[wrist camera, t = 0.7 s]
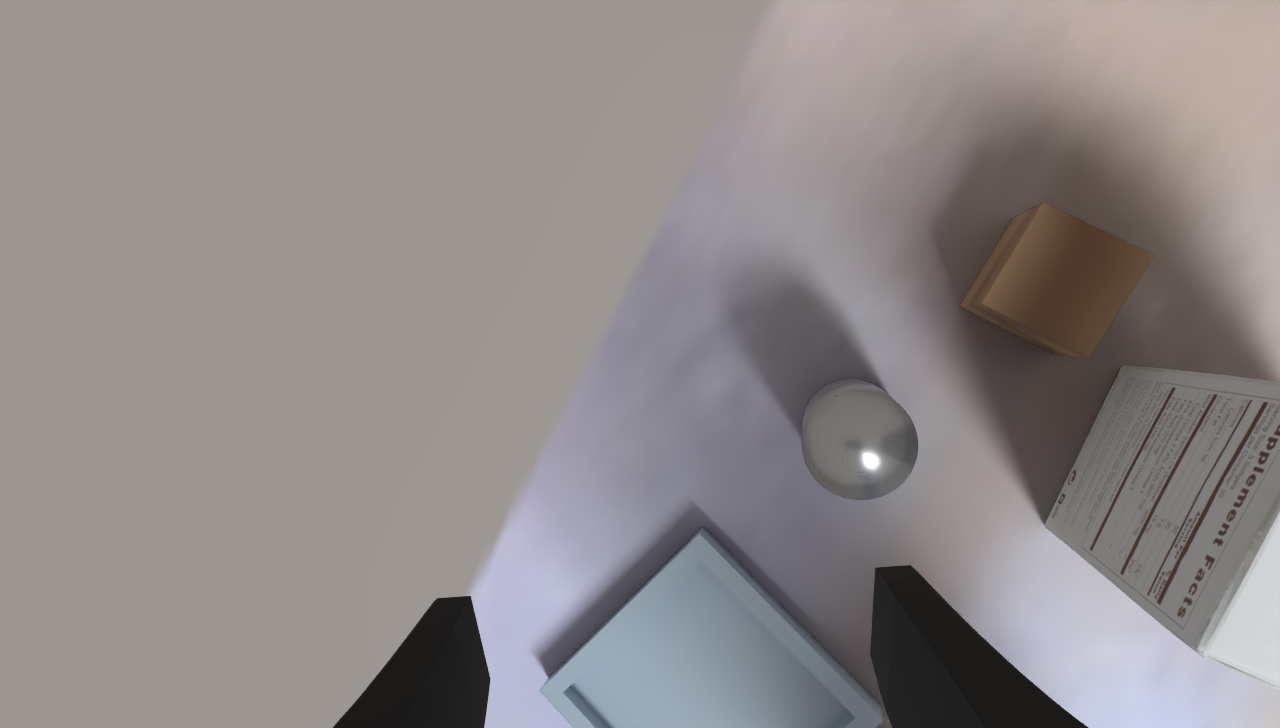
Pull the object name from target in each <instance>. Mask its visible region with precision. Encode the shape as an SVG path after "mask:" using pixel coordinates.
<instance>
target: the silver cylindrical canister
mask: <svg viewBox="0 0 1280 728" xmlns="http://www.w3.org/2000/svg"><path fill="white" fill-rule="evenodd" d="M802 451H803V456H804V460H805V462H806V465H807V467H808V469H809V471H810V472H811V474H812V475H813V477H814V478H815V479H816V480H817V481H818V482H819V483H820V484H821V485H822V486H823V487H824V488H826V489H827V490H829V491H830V492H832V493H834V494H836V495H838V496H841V497H844V498H849V499H855V500H868V499H874V498H878V497H881V496H883V495H886V494H888V493H890V492H891V491H893V490H895V489H896V488H897V487H899V486H900V485H901V484H902V483H903V482H904V481H905V480H906V478H907V477H908V476H909V474H910V473H911V471H912V469H913V467H914V464H915V461H916V458H917V453H918V438H917V433H916V430H915V427H914V424H913V422H912V420H911V418H910V417H909V415H908V414H907V412H906V411H905V410H904V409H903V408H902V407H901V406H900V405H899V404H898V403H897V402H896V401H895V400H893V399H892V398H891V397H890V396H889V395H888V394H886V393H885V392H884V391H883V390H882V389H880V388H879V387H877V386H876V385H874V384H872V383H870V382H867V381H863V380H858V379H843V380H838V381H835V382H832V383H830V384H828V385H826V386H824V387H823V388H821V389H820V390H819V391H817V392H816V393H815V394H814V396H813V397H812V398H811V399H810V401H809V402H808V404H807V406H806V409H805V412H804V415H803V423H802Z"/></svg>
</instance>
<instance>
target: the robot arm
mask: <svg viewBox="0 0 1280 728" xmlns="http://www.w3.org/2000/svg"><path fill="white" fill-rule="evenodd" d="M870 655H871V659H872V662H873V666H874V670H875V673H876V677H877V681H878V685H879V688H880V692H881V695H882V698H883V702H884V705H885V709H886V712H887V715H888V717H889V720H890V722H891V725H892V727H893V728H1088V727H1087V726H1085V725H1084V724H1083V723H1081V722H1080V721H1079V720H1077V719H1076V718H1075V717H1073V716H1072V715H1071V714H1070V713H1068V712H1067V711H1066V710H1064V709H1063V708H1062V707H1061V706H1060V705H1058V704H1057V703H1056V702H1055V701H1053V700H1052V699H1051V698H1050V697H1049V696H1047V695H1046V694H1045V693H1044V692H1043V691H1042V690H1040V689H1039V688H1038V687H1037V686H1036V685H1034V684H1033V683H1032V682H1031V681H1030V680H1029V679H1027V678H1026V677H1025V676H1024V675H1023V674H1022V673H1021V672H1019V671H1018V670H1017V669H1016V668H1015V667H1014V666H1013V665H1012V664H1011V663H1009V662H1008V661H1007V660H1006V659H1005V658H1004V657H1003V656H1002V655H1001V654H1000V653H999V652H998V651H997V650H995V649H994V648H993V647H992V646H991V645H990V644H989V643H988V642H987V641H986V640H985V639H984V638H983V637H982V636H980V635H979V634H978V633H977V632H976V631H975V630H974V629H973V628H972V627H971V626H970V625H969V624H968V623H967V622H966V621H965V620H964V619H963V618H962V617H961V616H960V615H959V614H958V613H957V612H956V611H955V610H954V609H953V608H952V607H951V606H950V605H949V604H948V603H947V602H946V601H945V600H944V599H943V598H942V597H941V596H940V595H939V594H938V593H937V591H936V590H935V589H934V588H933V587H932V586H931V585H930V584H929V583H928V582H927V581H926V580H925V579H924V578H923V577H922V576H921V575H920V574H919V573H918V572H917V571H916V570H915V569H914V568H913V567H912V566H911V565H908V566H894V567H879V568H875V582H874V600H873V617H872V635H871V652H870ZM489 686H490V676H489V672H488V667H487V663H486V659H485V655H484V651H483V646H482V642H481V638H480V634H479V630H478V625H477V621H476V617H475V613H474V608H473V604H472V600H471V596H464V597H451V598H438V599H436V600H435V601H434V602H433V604H432V605H431V606H430V607H429V609H428V610H427V611H426V613H425V614H424V615H423V617H422V618H421V619H420V621H419V622H418V623H417V625H416V626H415V627H414V628H413V630H412V631H411V633H410V634H409V635H408V636H407V638H406V639H405V640H404V642H403V643H402V644H401V646H400V647H399V648H398V650H397V651H396V652H395V654H394V655H393V656H392V657H391V659H390V660H389V661H388V662H387V664H386V665H385V666H384V667H383V669H382V670H381V671H380V672H379V674H378V675H377V676H376V677H375V679H374V680H373V681H372V682H371V684H370V685H369V686H368V687H367V689H366V690H365V691H364V692H363V693H362V695H361V696H360V697H359V698H358V699H357V701H356V702H355V703H354V704H353V705H352V706H351V707H350V709H349V710H348V711H347V712H346V713H345V714H344V715H343V717H342V718H341V719H340V720H339V721H338V722H337V724H335V726H334V727H333V728H484V724H485V717H486V710H487V702H488V694H489Z"/></svg>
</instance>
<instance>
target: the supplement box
mask: <svg viewBox="0 0 1280 728" xmlns="http://www.w3.org/2000/svg"><path fill="white" fill-rule="evenodd" d="M1045 527H1046V528H1047V529H1048V530H1049V531H1051V532H1052V533H1053V534H1054V535H1055V536H1056V537H1058V538H1059V539H1060V540H1061V541H1063V542H1064V543H1065V544H1067V545H1068V546H1069V547H1070V548H1072V549H1073V550H1074V551H1075V552H1076V553H1077V554H1079V555H1080V556H1081V557H1082V558H1083V559H1084V560H1086V561H1087V562H1088V563H1089V564H1090V565H1092V566H1093V567H1094V568H1095V569H1096V570H1098V571H1099V572H1100V573H1101V574H1102V575H1104V576H1105V577H1106V578H1107V579H1108V580H1109V581H1111V582H1112V583H1113V584H1114V585H1115V586H1117V587H1118V588H1119V589H1120V590H1121V591H1122V592H1124V593H1125V594H1126V595H1127V596H1128V597H1129V598H1131V599H1132V600H1133V601H1134V602H1135V603H1137V604H1138V605H1139V606H1140V607H1141V608H1142V609H1144V610H1145V611H1146V612H1147V613H1148V614H1150V615H1151V616H1152V617H1153V618H1154V619H1155V620H1157V621H1158V622H1159V623H1160V624H1161V625H1163V626H1164V627H1165V628H1166V629H1168V630H1169V631H1170V632H1171V633H1172V634H1174V635H1175V636H1176V637H1177V638H1179V639H1180V640H1181V641H1183V642H1184V643H1185V644H1187V645H1188V646H1189V647H1190V648H1192V649H1193V650H1194V651H1196V652H1197V653H1198V654H1200V655H1201V656H1203V657H1205V658H1207V659H1209V660H1211V661H1213V662H1216V663H1218V664H1220V665H1223V666H1225V667H1227V668H1229V669H1232V670H1234V671H1236V672H1238V673H1241V674H1243V675H1245V676H1248V677H1250V678H1252V679H1255V680H1257V681H1259V682H1262V683H1264V684H1266V685H1268V686H1271V687H1273V688H1275V689H1278V690H1280V382H1279V381H1268V380H1261V379H1253V378H1245V377H1237V376H1229V375H1220V374H1210V373H1201V372H1191V371H1182V370H1172V369H1162V368H1152V367H1139V366H1131V365H1123V366H1122V367H1121V369H1120V371H1119V373H1118V376H1117V377H1116V379H1115V381H1114V383H1113V385H1112V387H1111V389H1110V391H1109V393H1108V395H1107V397H1106V399H1105V401H1104V403H1103V406H1102V408H1101V410H1100V411H1099V413H1098V415H1097V418H1096V420H1095V422H1094V424H1093V426H1092V428H1091V430H1090V432H1089V434H1088V436H1087V438H1086V440H1085V442H1084V444H1083V446H1082V448H1081V450H1080V452H1079V454H1078V456H1077V458H1076V460H1075V463H1074V465H1073V467H1072V469H1071V471H1070V472H1069V475H1068V477H1067V479H1066V481H1065V483H1064V485H1063V487H1062V489H1061V491H1060V493H1059V495H1058V498H1057V500H1056V502H1055V504H1054V506H1053V508H1052V510H1051V512H1050V514H1049V516H1048V518H1047V520H1046V523H1045Z"/></svg>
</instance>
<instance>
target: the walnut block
mask: <svg viewBox="0 0 1280 728" xmlns="http://www.w3.org/2000/svg"><path fill="white" fill-rule="evenodd" d="M1153 257H1154V255H1153V254H1151V253H1149V252H1147V251H1145V250H1142V249H1140V248H1138V247H1136V246H1134V245H1132V244H1130V243H1128V242H1126V241H1124V240H1122V239H1119V238H1117V237H1115V236H1113V235H1111V234H1109V233H1107V232H1105V231H1103V230H1101V229H1098V228H1096V227H1094V226H1092V225H1090V224H1088V223H1086V222H1084V221H1082V220H1080V219H1077V218H1075V217H1073V216H1071V215H1069V214H1067V213H1065V212H1063V211H1061V210H1059V209H1057V208H1054V207H1052V206H1050V205H1048V204H1046V203H1044V202H1043V203H1041V204H1039V205H1037V206H1035V207H1033V208H1031V209H1029V210H1027V211H1025V212H1023V213H1022V214H1020V215H1018V216H1016V217H1014V218H1012V220H1011V222H1010V223H1009V225H1008V227H1007V228H1006V230H1005V232H1004V233H1003V235H1002V237H1001V238H1000V240H999V242H998V243H997V245H996V247H995V248H994V250H993V252H992V253H991V255H990V257H989V258H988V260H987V262H986V263H985V265H984V267H983V268H982V270H981V272H980V273H979V275H978V277H977V278H976V280H975V282H974V283H973V285H972V287H971V288H970V290H969V292H968V293H967V295H966V297H965V298H964V300H963V301H962V303H961V305H960V307H962V308H964V309H966V310H968V311H969V312H971V313H973V314H975V315H977V316H979V317H981V318H983V319H985V320H987V321H989V322H991V323H993V324H995V325H997V326H999V327H1001V328H1003V329H1005V330H1007V331H1009V332H1011V333H1012V334H1014V335H1016V336H1018V337H1020V338H1022V339H1024V340H1026V341H1028V342H1030V343H1032V344H1034V345H1036V346H1038V347H1040V348H1042V349H1044V350H1046V351H1048V352H1050V353H1052V354H1057V355H1067V356H1076V357H1086V358H1089V357H1090V356H1091V354H1092V353H1093V351H1094V349H1095V348H1096V346H1097V345H1098V343H1099V342H1100V340H1101V338H1102V337H1103V335H1104V334H1105V332H1106V331H1107V329H1108V327H1109V326H1110V324H1111V323H1112V321H1113V320H1114V318H1115V317H1116V315H1117V313H1118V312H1119V310H1120V309H1121V307H1122V306H1123V304H1124V302H1125V301H1126V299H1127V298H1128V296H1129V295H1130V293H1131V291H1132V290H1133V288H1134V287H1135V285H1136V284H1137V282H1138V280H1139V279H1140V277H1141V276H1142V274H1143V273H1144V271H1145V269H1146V268H1147V266H1148V265H1149V263H1150V262H1151V260H1152V258H1153Z"/></svg>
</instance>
